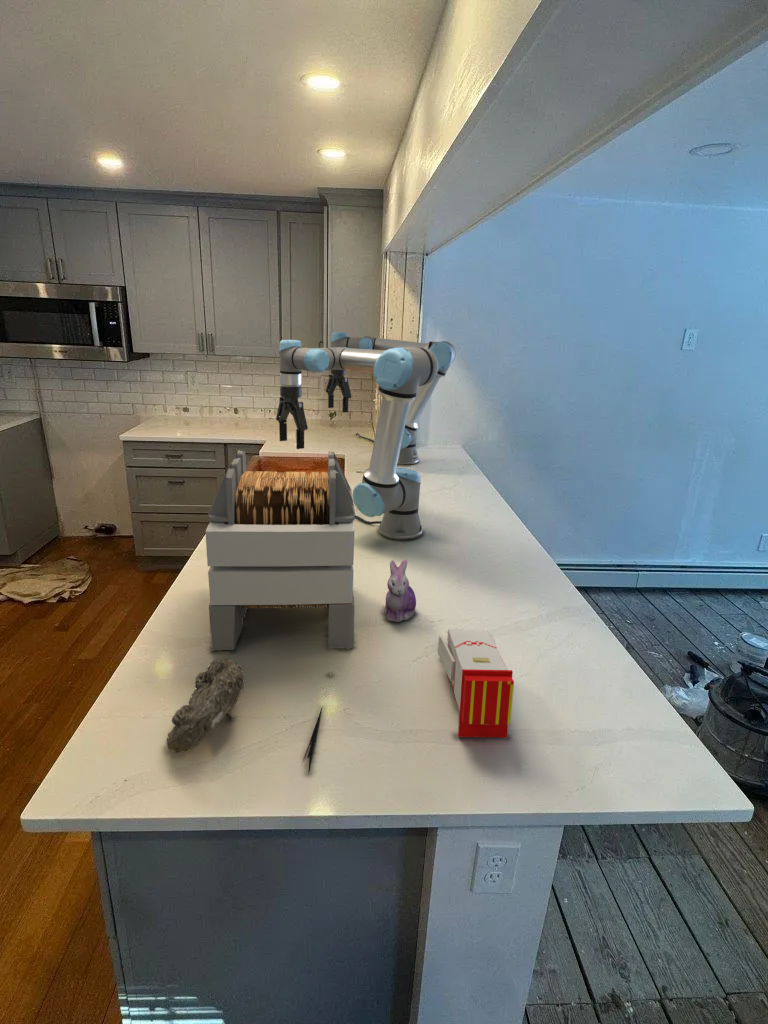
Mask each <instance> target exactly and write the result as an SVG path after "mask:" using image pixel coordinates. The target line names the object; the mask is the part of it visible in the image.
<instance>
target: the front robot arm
mask: <svg viewBox="0 0 768 1024" xmlns="http://www.w3.org/2000/svg"><path fill="white" fill-rule="evenodd" d="M278 354H279V385H280V387H279V395H280V396H279V399H278V400H279V403H278V407H277V412H276V416H275V421H277V423H278V427H279V428H278V429H279V431H278V432H279V442H287V441H288V420H287V419H288V418H289V415H291V416H292V417H293V421H294V423H295V426H296V429H295V433H296V434H295V436H296V441H295V442H296V444H295V447H296V450H301V449H302V450H303V449H305V431H308V430H309V427H308V422H307V418H306V414H305V408H304V402H303V401H299V398H301V397H302V396H303V395H302V392H303V391H302V390H303V389H302V388H303V387H302V379H303V376H302V371H306V372H311V373H323V372H325V371H331V370H346V371H350V372H351V371H352V372H360V373H371V374H373V377H374V379H375V383H376V384H377V385H378V389H377V391H378V393H379V394H380V396H381V400H380V406H379V412H378V417H377V423H376V428H375V434H374V435H375V436H374V438H373V441H374V442H373V446H372V451H371V457H370V462H369V467H368V468H367V469H365V470H363V473H362V474H363V475H362V479H361V482H360V483H358V484H357V485H355V486H354V488H353V490H352V499H353V504H354V506H356V509H357V510H358V511H359V512H360V513H361V514H362V515H363V516H365V517H368V518H375V517H380V516H382V519H381V520H374V521H368V520H365V518H364V519H363V518H362V517H360V516H358V515H356V514H355V519H357V520H359V521H361V522H363V523H364V524H367V525H378V524H379V526H378V533H379V534H380V535H381V536H382V537H385V538H387V539H389V540H395V541H410V540H415V539H418V538H420V537H421V536H422V535H423V525H422V524H421V518H420V515H419V507H420V506H419V505H420V494H421V493H420V492H421V482H422V481H421V474H420V472H418V471H417V470H414V469H411V468H406V467H398V464H397V463H398V458H399V453H400V448H401V443H402V438H403V434H404V429H405V424H406V419H407V414H408V409H409V404H410V401H412V400H413V399H415V398H416V394H417V390H418V386H423V385H426V384H428V383H430V382H431V381H432V380H433V379H434V378H435V376H436V374H437V372H438V360H437V358H436V356H435V354H434V353H433V352H432V351H431V350H429V349H427V348H424V347H404V348H401V347H396V348H393V349H388V350H386V351H384V350H369V349H354V348H347V347H334V348H331V347H303V346H302V341H301V340H298V339H281V340H280V342H279V349H278Z"/></svg>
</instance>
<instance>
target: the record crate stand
mask: <svg viewBox="0 0 768 1024" xmlns="http://www.w3.org/2000/svg"><path fill="white" fill-rule="evenodd" d="M327 456H328V457H327V462H328V463H327V471H322V472H321V473H320V472H319V471H311V472H307V471H284V472H283V471H281V472H278V471H271V470H269V471H267V470H265V471H262V470H261V471H259V470H258V471H257V470H256V471H253V470H247V458H246V450H240V449H238V450H237V452H236V454H235V456H234V457H233V459H232V462H231V464H230V466H229V468H227V470H226V472H225V474H224V477H223V479H222V480H221V483H220V486H219V487H218V490H217V491H216V495H215V496H214V499H213V501H212V503H211V504H210V505H211V506H210V508H209V510H208V513H207V517H208V522H209V523H208V525H207V527H206V529H205V533H204V534H205V548H206V558H207V559H206V563H207V567H209V569H208V571H207V574H208V575H207V577H208V589H209V604H208V615H209V630H210V634H211V647H210V649H211V651H212V652H214V651H215V652H218V651H234V649H235V647H236V645H237V643H238V641H239V638H240V635H241V633H242V630H243V619H245V618H246V614H247V609H249V610H250V609H273V608H274V609H276V608H277V609H280V608H281V609H293V608H294V609H296V608H298V609H302V608H309V609H310V608H315V609H316V608H327V637H328V638H327V639H328V640H327V641H328V649H349V650H350V649H352V648H353V647H354V646H355V645H354V643H355V607H356V606H355V597H354V559H355V558H354V555H355V526H354V525H355V524H354V522H355V520H356V518H355V515H356V511H355V503H354V500H353V492H352V487H351V486H350V484H349V481H348V479H347V477H346V475H345V473H344V471H343V469H342V467H341V464H340V462H339V459H338V458H337V455H336V453H335V452H334V451H330V450H329V451H327Z"/></svg>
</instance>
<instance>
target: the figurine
mask: <svg viewBox="0 0 768 1024" xmlns="http://www.w3.org/2000/svg"><path fill="white" fill-rule="evenodd" d="M407 567H408V559H406V558H404V559H403V560H402V561H401V563H400V565H399V566H398V565H397V563H396V562H395V561H394V560H393V559H391V560H390V561H389V570H390V576H389V578H388V579H387V589H388V591H387V592H386V594H385V595H386V596H385V607H384V615H385V616H386V620H387V621H391V622H395V623H400V622H402V621H406V620H409V619H410V618H411V617H413V616H414V615H415V610H416V606H417V597H416V593H415V591H414V590H413V587H411V586H410V582H409V579H408V577H407V574H406V571H407Z"/></svg>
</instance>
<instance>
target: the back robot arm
mask: <svg viewBox="0 0 768 1024" xmlns="http://www.w3.org/2000/svg"><path fill="white" fill-rule="evenodd" d="M334 347H347V348H354V349H369V350H384V351H386V350H388V349H393V348H396V347H401V348H404V347H424V348H427V349H429V350H431V351H432V352H433V353H434V354H435V356H436V358H437V360H438V372H437V374H436V376H435V378H434V379H433V380H432V381H431V382H430V383H428V384H426V385H423V386H418V390H417V394H416V398H415V399H413V400H412V401H410V404H409V409H408V414H407V419H406V424H405V429H404V434H403V438H402V443H401V448H400V453H399V458H398V463H397V465H401V466H412V465H416V464H418V463H419V455H418V450H417V438H418V437H417V436H418V428H419V426H418V425H419V423H418V421H419V420H420V418H421V415H422V413H423V412H424V410H425V408H426V406H427V405H428V402H429V401H430V398H431V396H432V394H433V393H434V390H435V388H436V387H437V385H438V383H439V381H440V379H441V378H444V377H445V376H446V374H447V373H448V371H449V368H450V367H451V365H452V364H453V362H454V361H455V360H456V356H457V351H456V349H455V348H456V347H455V346H454V345H453V344H452V343H451V342H449V341H445V340H443V341H442V340H441V341H428V342H420V341H419V342H418V341H410V340H400V339H390V338H381V337H372V336H361V337H351V336H348V333H347V332H344V331H333V332H332V333H331V335H330V348H334ZM345 375H347V370H330V374H329V375H328V381H327V385H326V388H325V393H326V394H327V396H328V397H327V404H328V405H327V408H328V409H334V408H335V403H334V402H335V394H334V392H335V390H336V388H337V387H338V388H339V389H340V392H341V395H342V410H341V411H342V413H349V399H352V392H351V389H350V383H349V378H348V377H345ZM355 436H358V437H359V438H361V439H365V440H367V441H371V442H373V443H374V439H371V438H368V437H365V436H362V435H360V434H359V433H358V432H357V433H355Z"/></svg>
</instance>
